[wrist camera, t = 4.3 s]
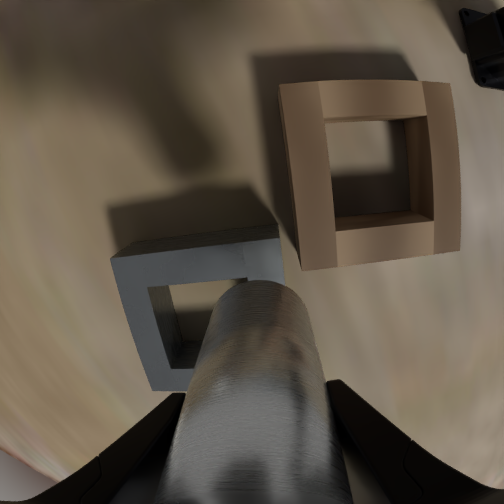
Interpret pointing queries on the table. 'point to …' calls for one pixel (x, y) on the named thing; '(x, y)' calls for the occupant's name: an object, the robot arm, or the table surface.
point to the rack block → (181, 272)
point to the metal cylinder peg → (256, 410)
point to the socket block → (419, 166)
